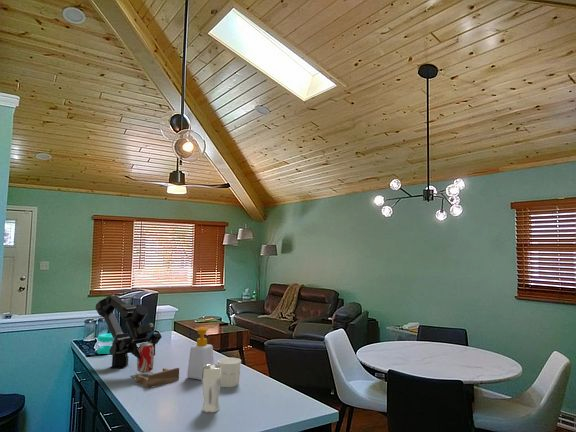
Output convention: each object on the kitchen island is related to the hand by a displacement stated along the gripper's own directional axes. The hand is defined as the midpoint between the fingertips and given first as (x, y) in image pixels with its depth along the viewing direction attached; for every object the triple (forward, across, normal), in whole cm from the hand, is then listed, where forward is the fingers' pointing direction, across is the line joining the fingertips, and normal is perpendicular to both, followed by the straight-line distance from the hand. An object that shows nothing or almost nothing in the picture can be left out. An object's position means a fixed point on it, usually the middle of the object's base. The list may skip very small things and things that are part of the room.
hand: (147, 356), depth 181 cm
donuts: (-32, +8, +46) cm, 57 cm away
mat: (+6, 0, +7) cm, 9 cm away
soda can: (+4, 0, +6) cm, 7 cm away
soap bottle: (+19, +18, -6) cm, 27 cm away
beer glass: (+42, -5, -31) cm, 53 cm away
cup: (+31, +18, -19) cm, 41 cm away
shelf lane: (+13, 0, 0) cm, 13 cm away
